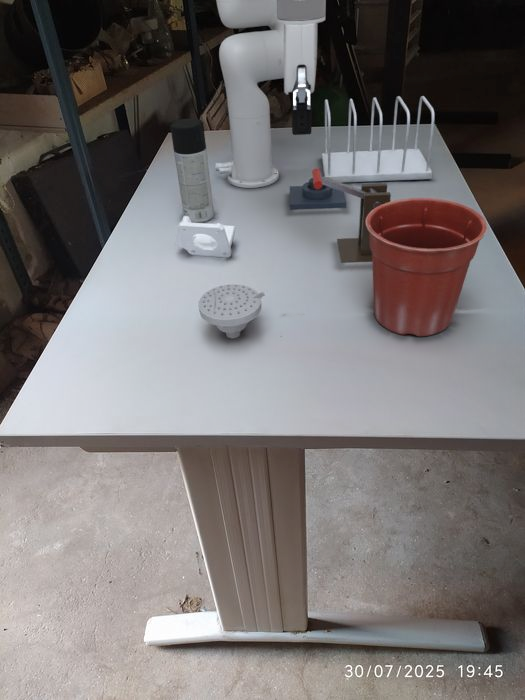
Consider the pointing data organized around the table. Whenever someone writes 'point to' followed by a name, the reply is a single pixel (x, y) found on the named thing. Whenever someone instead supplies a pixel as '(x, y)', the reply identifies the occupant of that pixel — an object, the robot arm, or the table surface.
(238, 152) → the robot arm
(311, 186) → the button
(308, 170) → the table surface
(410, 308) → the flower pot
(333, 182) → the tap lever
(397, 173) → the file sorter
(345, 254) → the brown lever stand
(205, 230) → the mounting bracket
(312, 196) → the button box
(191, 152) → the spray can
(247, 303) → the showerhead
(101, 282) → the table surface
